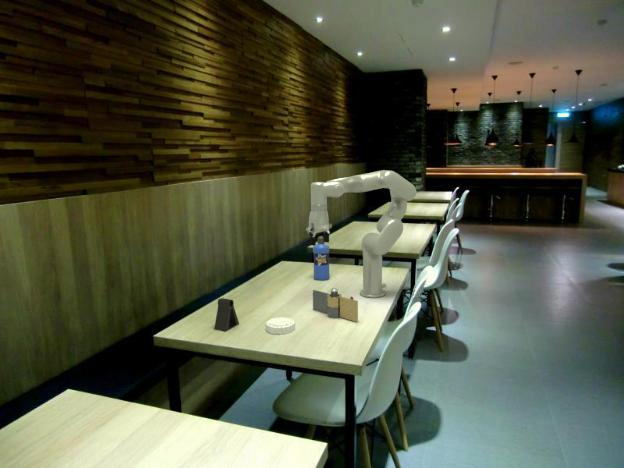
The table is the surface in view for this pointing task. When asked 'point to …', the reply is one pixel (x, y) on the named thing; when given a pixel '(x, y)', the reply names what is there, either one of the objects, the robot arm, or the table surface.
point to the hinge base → (324, 305)
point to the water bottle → (321, 260)
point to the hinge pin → (334, 292)
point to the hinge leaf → (344, 306)
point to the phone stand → (226, 315)
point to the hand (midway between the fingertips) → (319, 243)
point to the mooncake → (280, 325)
